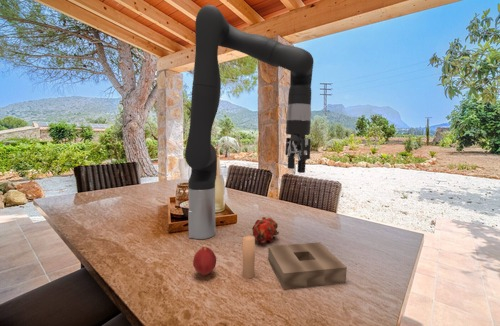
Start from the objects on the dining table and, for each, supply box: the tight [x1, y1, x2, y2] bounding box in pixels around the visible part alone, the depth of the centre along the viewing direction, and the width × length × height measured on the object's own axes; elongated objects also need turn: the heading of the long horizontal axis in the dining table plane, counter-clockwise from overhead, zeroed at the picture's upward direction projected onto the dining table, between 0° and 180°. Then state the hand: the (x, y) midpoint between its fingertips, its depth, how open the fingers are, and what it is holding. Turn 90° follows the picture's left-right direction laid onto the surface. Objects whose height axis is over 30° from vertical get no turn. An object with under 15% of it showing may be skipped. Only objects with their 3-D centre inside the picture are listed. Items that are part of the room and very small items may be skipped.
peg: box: [242, 235, 256, 280], centre depth 61 cm, size 3×3×10 cm
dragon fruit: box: [251, 217, 280, 245], centre depth 82 cm, size 8×8×12 cm
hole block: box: [267, 241, 348, 290], centre depth 64 cm, size 16×14×4 cm
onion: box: [192, 245, 217, 276], centre depth 62 cm, size 6×6×8 cm
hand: (295, 170), depth 78 cm, fingers open, 8 cm apart
